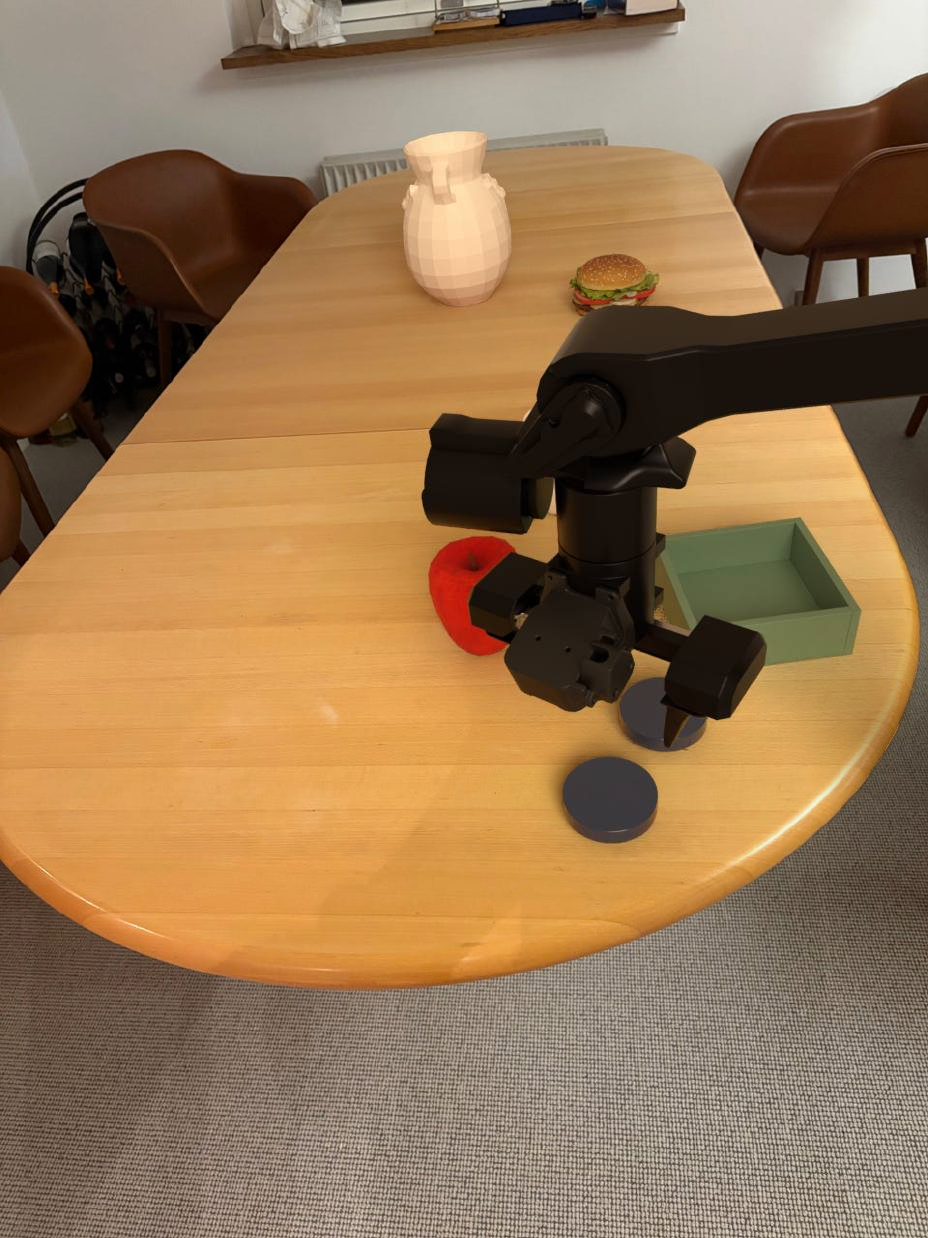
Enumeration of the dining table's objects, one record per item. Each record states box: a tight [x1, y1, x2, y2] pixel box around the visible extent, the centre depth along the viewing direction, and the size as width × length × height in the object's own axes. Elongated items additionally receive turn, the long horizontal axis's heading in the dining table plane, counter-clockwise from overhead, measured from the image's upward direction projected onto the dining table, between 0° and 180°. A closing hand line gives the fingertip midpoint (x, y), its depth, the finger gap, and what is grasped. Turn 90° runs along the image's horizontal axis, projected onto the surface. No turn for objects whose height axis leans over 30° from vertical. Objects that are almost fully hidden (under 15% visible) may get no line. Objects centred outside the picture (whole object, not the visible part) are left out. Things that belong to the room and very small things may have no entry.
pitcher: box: [401, 131, 513, 307], centre depth 148 cm, size 19×18×25 cm
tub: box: [655, 516, 862, 666], centre depth 82 cm, size 15×15×5 cm
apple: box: [427, 535, 518, 657], centre depth 82 cm, size 9×9×11 cm
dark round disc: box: [561, 755, 659, 845], centre depth 68 cm, size 7×7×2 cm
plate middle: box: [618, 676, 709, 753], centre depth 74 cm, size 7×7×2 cm
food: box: [569, 253, 660, 317], centre depth 142 cm, size 14×14×8 cm
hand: (609, 718), depth 62 cm, fingers open, 9 cm apart
